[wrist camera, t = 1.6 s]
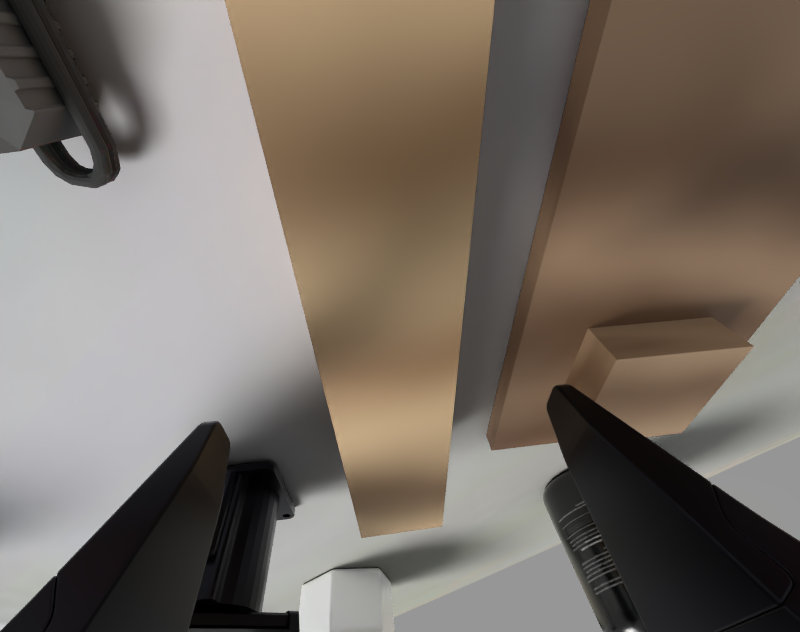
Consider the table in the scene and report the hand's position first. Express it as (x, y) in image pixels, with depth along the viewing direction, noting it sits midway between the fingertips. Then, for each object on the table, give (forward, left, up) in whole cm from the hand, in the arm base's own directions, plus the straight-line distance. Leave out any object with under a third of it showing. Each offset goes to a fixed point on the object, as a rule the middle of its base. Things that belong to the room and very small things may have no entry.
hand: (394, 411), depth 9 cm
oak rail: (0, 0, -6) cm, 6 cm away
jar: (-34, +5, -6) cm, 35 cm away
